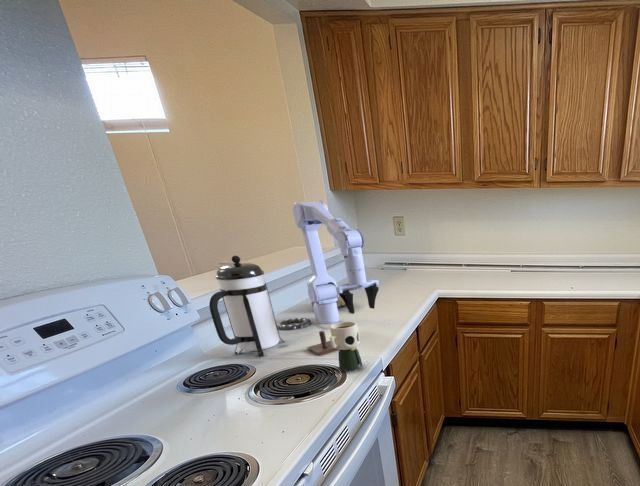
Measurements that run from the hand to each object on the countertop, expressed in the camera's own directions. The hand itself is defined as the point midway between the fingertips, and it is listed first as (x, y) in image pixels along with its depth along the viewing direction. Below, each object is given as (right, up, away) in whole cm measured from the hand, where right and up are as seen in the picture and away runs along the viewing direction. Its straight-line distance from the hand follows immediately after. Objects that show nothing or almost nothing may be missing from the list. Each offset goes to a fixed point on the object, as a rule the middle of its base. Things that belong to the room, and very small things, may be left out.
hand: (362, 310), depth 140 cm
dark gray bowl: (-31, -3, +16) cm, 35 cm away
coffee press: (-32, -14, -5) cm, 35 cm away
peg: (-10, -13, -5) cm, 18 cm away
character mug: (+4, -20, -20) cm, 29 cm away
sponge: (-27, +7, +42) cm, 50 cm away
